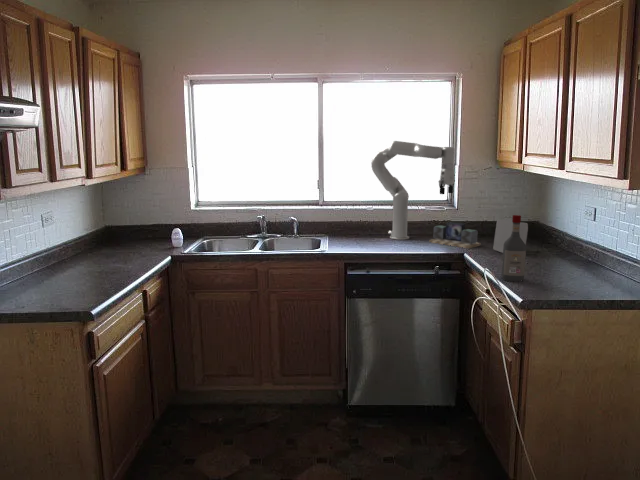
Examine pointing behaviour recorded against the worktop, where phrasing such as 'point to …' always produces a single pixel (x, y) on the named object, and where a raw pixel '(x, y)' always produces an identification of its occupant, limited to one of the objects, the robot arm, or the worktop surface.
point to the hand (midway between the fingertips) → (446, 193)
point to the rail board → (466, 241)
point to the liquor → (514, 254)
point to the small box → (454, 231)
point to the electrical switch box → (507, 233)
